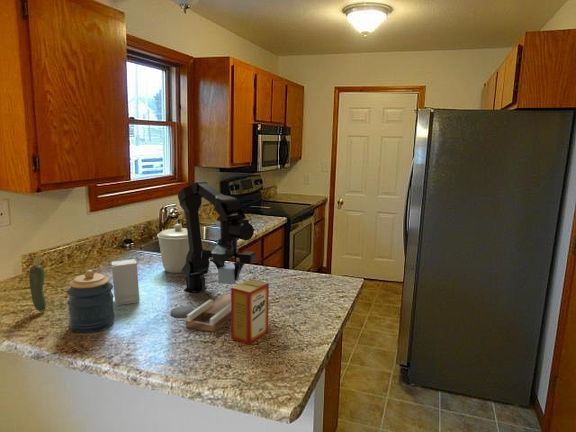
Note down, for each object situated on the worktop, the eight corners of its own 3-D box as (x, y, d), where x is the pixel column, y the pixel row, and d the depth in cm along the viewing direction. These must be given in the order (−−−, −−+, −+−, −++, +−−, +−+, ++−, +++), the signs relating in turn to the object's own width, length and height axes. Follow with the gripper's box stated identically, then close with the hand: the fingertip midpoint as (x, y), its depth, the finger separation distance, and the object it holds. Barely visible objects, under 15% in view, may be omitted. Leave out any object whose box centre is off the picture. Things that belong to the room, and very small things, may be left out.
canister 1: (85, 337, 122) (81, 279, 119) (60, 326, 129) (56, 271, 126) (123, 322, 133) (120, 268, 130) (98, 312, 140) (95, 261, 137)
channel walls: (187, 320, 130) (186, 314, 129) (209, 304, 143) (209, 299, 142) (212, 325, 127) (212, 319, 126) (233, 308, 140) (233, 303, 139)
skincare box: (137, 297, 154) (136, 258, 151) (139, 302, 149) (138, 262, 146) (113, 300, 150) (111, 260, 148) (114, 306, 145) (112, 265, 142)
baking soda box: (248, 344, 120) (249, 291, 117) (231, 338, 123) (231, 286, 120) (268, 332, 127) (268, 282, 125) (251, 326, 131) (251, 278, 128)
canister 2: (149, 271, 185) (147, 224, 181) (181, 261, 199) (180, 218, 196) (177, 279, 175) (175, 229, 171) (208, 268, 189) (207, 223, 186)
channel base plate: (185, 326, 130) (185, 320, 130) (223, 299, 153) (223, 293, 153) (214, 332, 127) (214, 325, 127) (248, 302, 150) (248, 297, 150)
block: (218, 282, 143) (218, 268, 142) (226, 277, 148) (226, 264, 148) (231, 284, 141) (231, 270, 140) (239, 279, 147) (239, 265, 146)
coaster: (165, 315, 138) (165, 313, 138) (179, 306, 146) (179, 305, 146) (186, 319, 136) (186, 317, 136) (199, 310, 143) (199, 308, 143)
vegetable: (32, 315, 136) (26, 256, 133) (32, 310, 140) (27, 253, 136) (47, 313, 138) (42, 254, 135) (48, 308, 142) (43, 251, 139)
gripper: (192, 237, 138) (193, 282, 140) (243, 242, 132) (243, 290, 134) (209, 231, 148) (209, 273, 151) (257, 235, 142) (257, 279, 145)
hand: (229, 279), depth 145 cm, fingers closed on block, 5 cm apart
